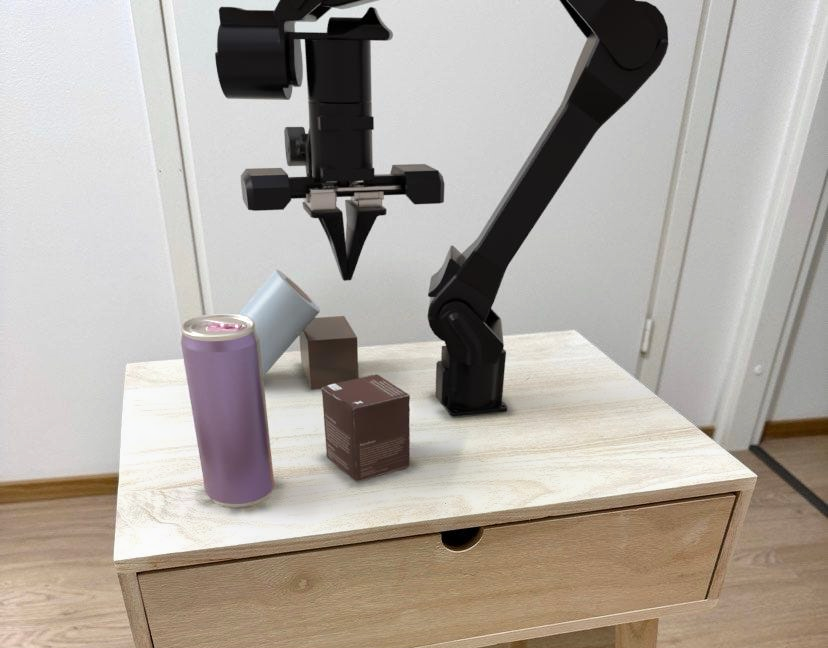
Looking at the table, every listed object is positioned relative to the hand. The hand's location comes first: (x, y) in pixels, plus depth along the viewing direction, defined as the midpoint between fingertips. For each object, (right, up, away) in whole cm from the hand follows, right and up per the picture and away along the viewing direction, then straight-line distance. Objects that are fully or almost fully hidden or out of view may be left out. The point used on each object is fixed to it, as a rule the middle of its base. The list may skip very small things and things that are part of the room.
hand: (346, 279), depth 77 cm
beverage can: (-8, -23, -10) cm, 26 cm away
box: (+2, -19, -5) cm, 20 cm away
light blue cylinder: (-10, -7, +12) cm, 17 cm away
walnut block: (-3, -7, +13) cm, 15 cm away
